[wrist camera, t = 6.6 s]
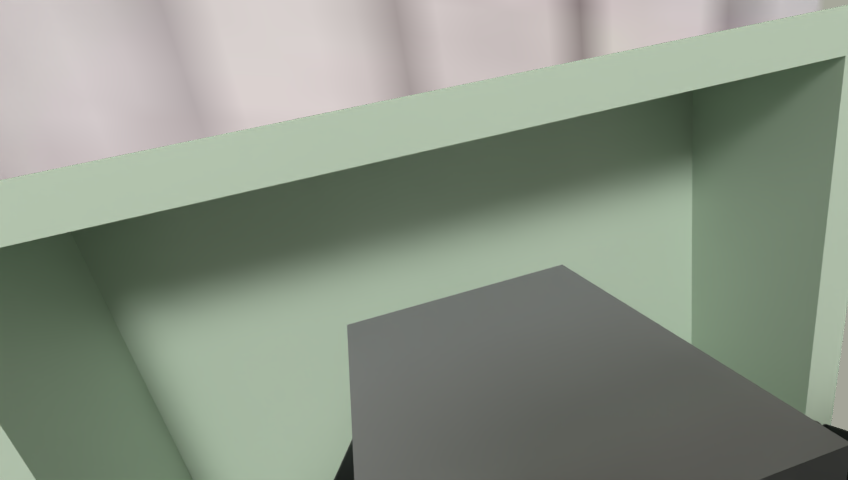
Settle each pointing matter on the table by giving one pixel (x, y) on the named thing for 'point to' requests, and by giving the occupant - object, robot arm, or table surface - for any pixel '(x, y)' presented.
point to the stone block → (562, 395)
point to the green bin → (422, 248)
